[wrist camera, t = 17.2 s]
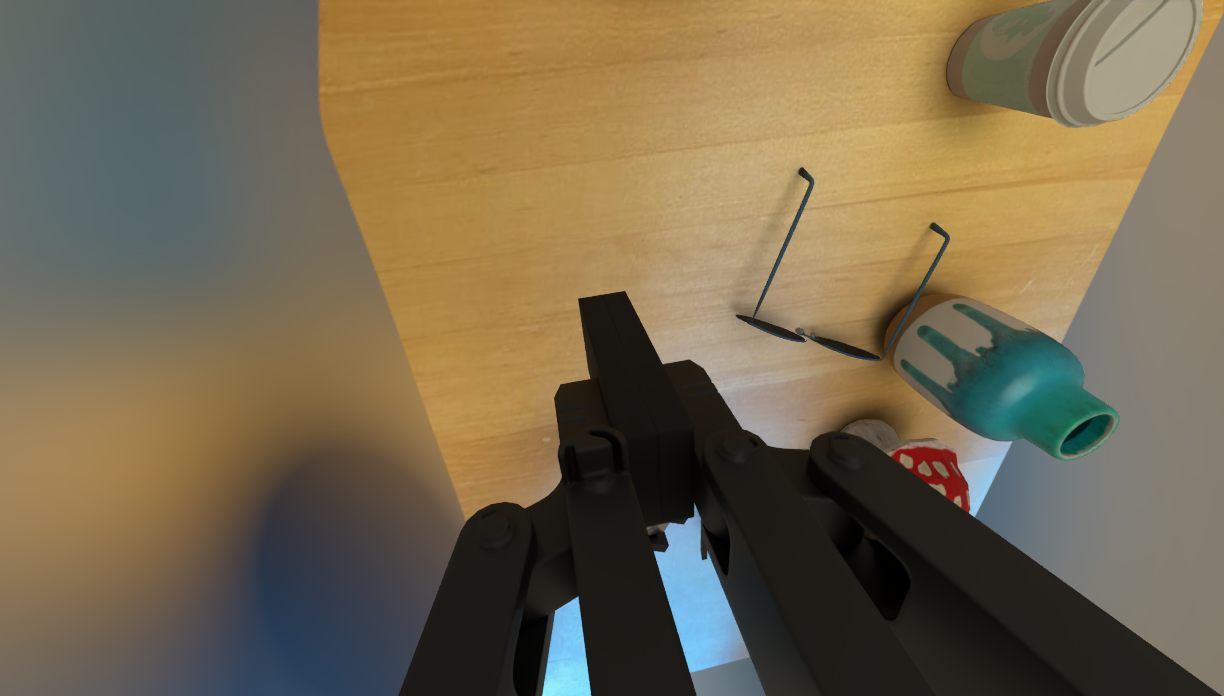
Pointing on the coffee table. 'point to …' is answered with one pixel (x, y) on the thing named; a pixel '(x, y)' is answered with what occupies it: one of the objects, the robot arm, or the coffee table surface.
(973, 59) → the coffee cup
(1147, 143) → the coffee table surface
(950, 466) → the decorative mushroom
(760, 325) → the sunglasses
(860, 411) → the coffee table surface
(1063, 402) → the vase
